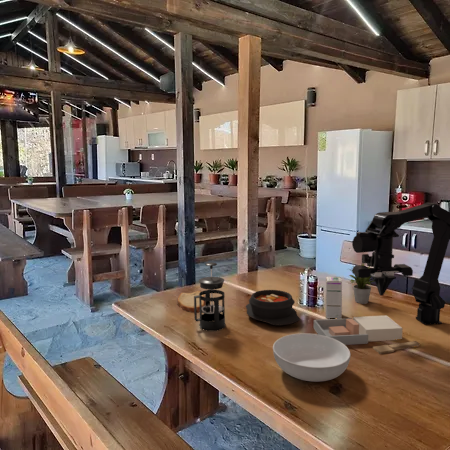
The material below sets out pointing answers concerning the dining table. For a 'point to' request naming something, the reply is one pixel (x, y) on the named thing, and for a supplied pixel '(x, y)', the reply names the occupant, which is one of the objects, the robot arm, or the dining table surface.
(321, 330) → the tray
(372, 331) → the white flat box
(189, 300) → the bread slice
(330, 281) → the syrup box
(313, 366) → the serving bowl
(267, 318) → the casserole
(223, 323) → the french press
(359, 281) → the house plant
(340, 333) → the tile
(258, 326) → the dining table surface
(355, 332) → the tile
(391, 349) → the wooden spatula
